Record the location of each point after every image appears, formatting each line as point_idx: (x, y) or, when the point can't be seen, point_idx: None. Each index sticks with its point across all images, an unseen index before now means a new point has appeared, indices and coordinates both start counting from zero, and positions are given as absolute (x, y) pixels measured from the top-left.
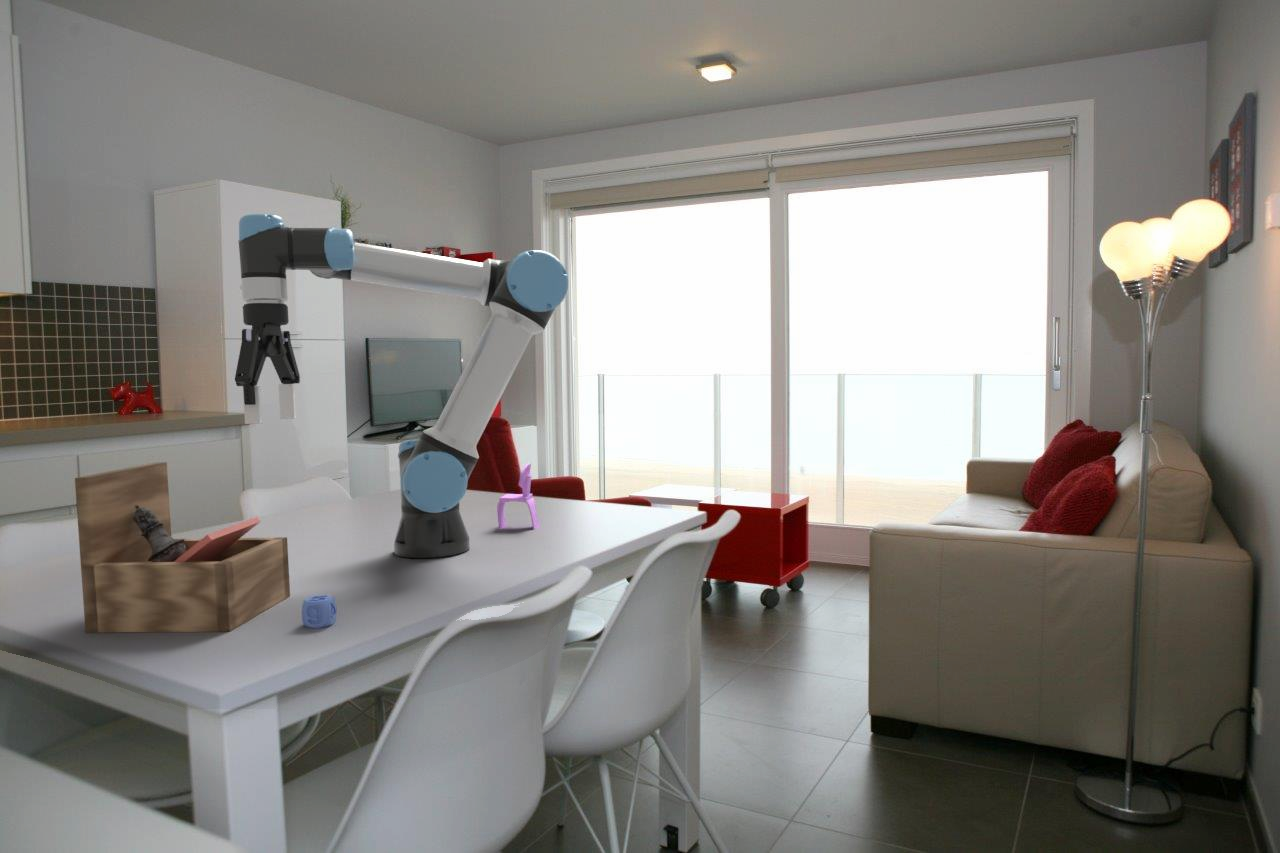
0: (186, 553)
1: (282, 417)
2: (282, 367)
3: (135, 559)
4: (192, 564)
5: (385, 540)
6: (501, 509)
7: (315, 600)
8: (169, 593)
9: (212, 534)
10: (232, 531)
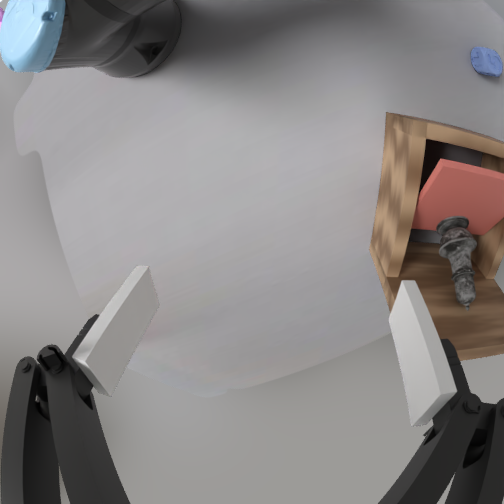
0: None
1: (156, 302)
2: (96, 453)
3: (444, 273)
4: None
5: (84, 127)
6: None
7: (498, 64)
8: None
9: None
10: (500, 173)
